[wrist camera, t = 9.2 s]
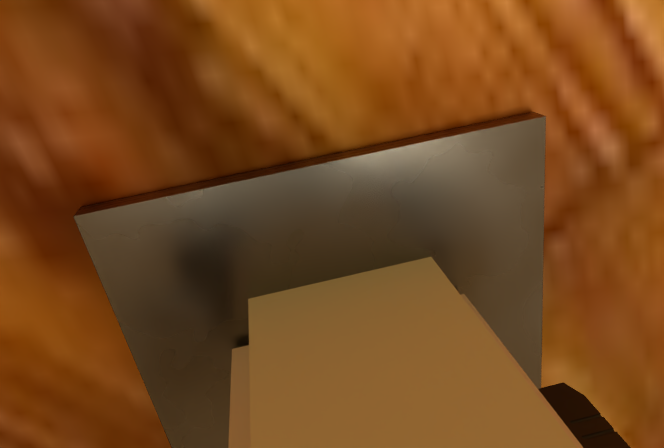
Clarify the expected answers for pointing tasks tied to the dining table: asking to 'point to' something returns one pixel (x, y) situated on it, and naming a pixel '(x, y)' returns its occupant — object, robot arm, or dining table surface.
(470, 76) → the dining table surface
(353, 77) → the dining table surface
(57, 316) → the dining table surface
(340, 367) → the beige rectangular block
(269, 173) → the grey square plate
